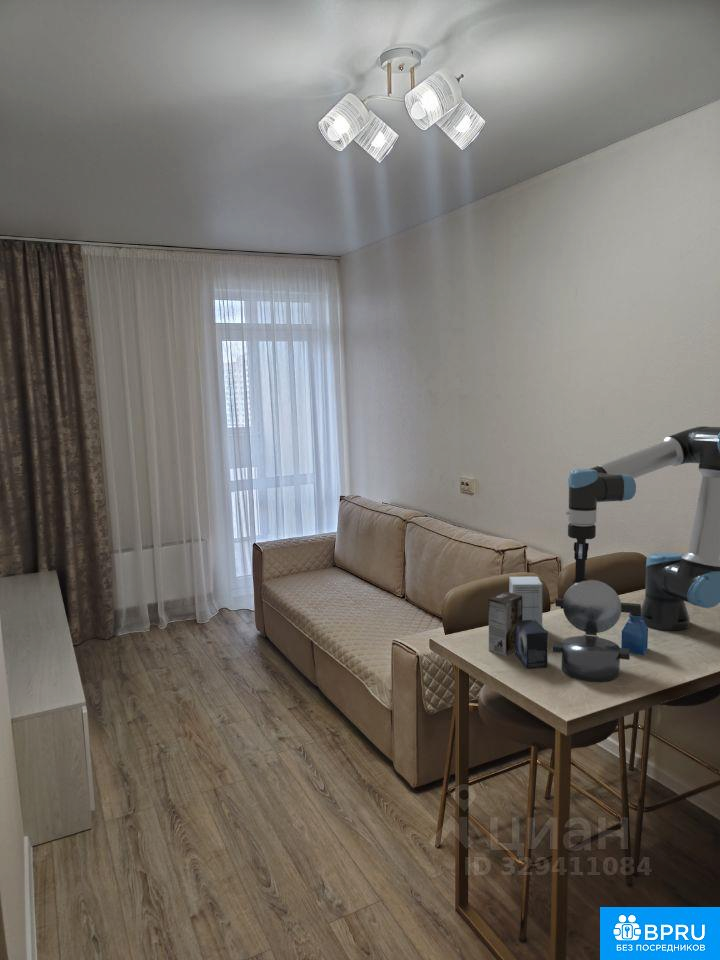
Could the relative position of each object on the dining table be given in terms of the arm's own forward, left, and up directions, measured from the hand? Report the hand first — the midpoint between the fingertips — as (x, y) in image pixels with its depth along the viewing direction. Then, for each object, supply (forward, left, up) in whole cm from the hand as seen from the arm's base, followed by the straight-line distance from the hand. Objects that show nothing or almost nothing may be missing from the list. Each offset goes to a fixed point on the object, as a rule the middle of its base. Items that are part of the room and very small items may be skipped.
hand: (579, 603), depth 190 cm
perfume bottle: (-15, -7, -15) cm, 23 cm away
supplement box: (+17, -14, -15) cm, 27 cm away
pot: (-3, +12, -15) cm, 19 cm away
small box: (+13, +10, -15) cm, 22 cm away
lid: (-5, +4, 0) cm, 6 cm away
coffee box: (+21, +3, -15) cm, 26 cm away
